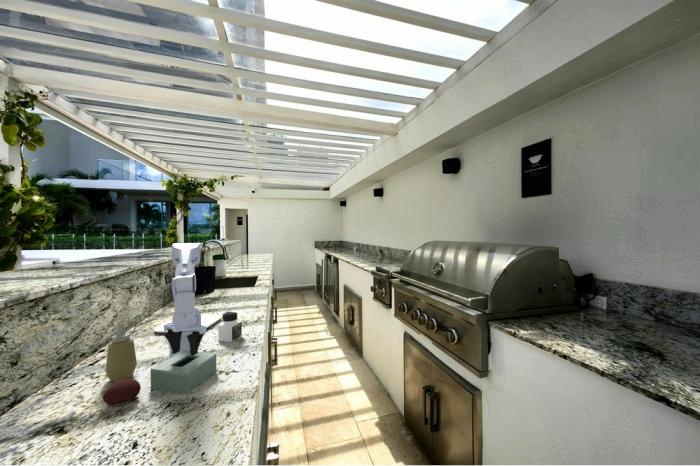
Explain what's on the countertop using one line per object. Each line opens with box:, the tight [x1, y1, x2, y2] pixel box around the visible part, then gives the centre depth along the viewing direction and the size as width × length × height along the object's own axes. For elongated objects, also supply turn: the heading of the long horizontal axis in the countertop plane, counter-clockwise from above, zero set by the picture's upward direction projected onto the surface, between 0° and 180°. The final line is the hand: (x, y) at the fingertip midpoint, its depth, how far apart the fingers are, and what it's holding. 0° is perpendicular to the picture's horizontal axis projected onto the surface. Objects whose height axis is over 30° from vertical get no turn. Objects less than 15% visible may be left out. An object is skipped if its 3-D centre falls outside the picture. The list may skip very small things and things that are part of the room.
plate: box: [153, 314, 223, 334], centre depth 140 cm, size 25×25×2 cm
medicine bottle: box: [217, 310, 243, 343], centre depth 123 cm, size 7×7×12 cm
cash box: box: [150, 350, 218, 395], centre depth 89 cm, size 13×13×6 cm
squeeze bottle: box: [105, 323, 138, 383], centre depth 91 cm, size 8×8×18 cm
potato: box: [102, 378, 141, 406], centre depth 78 cm, size 7×8×6 cm
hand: (185, 353), depth 89 cm, fingers open, 6 cm apart
